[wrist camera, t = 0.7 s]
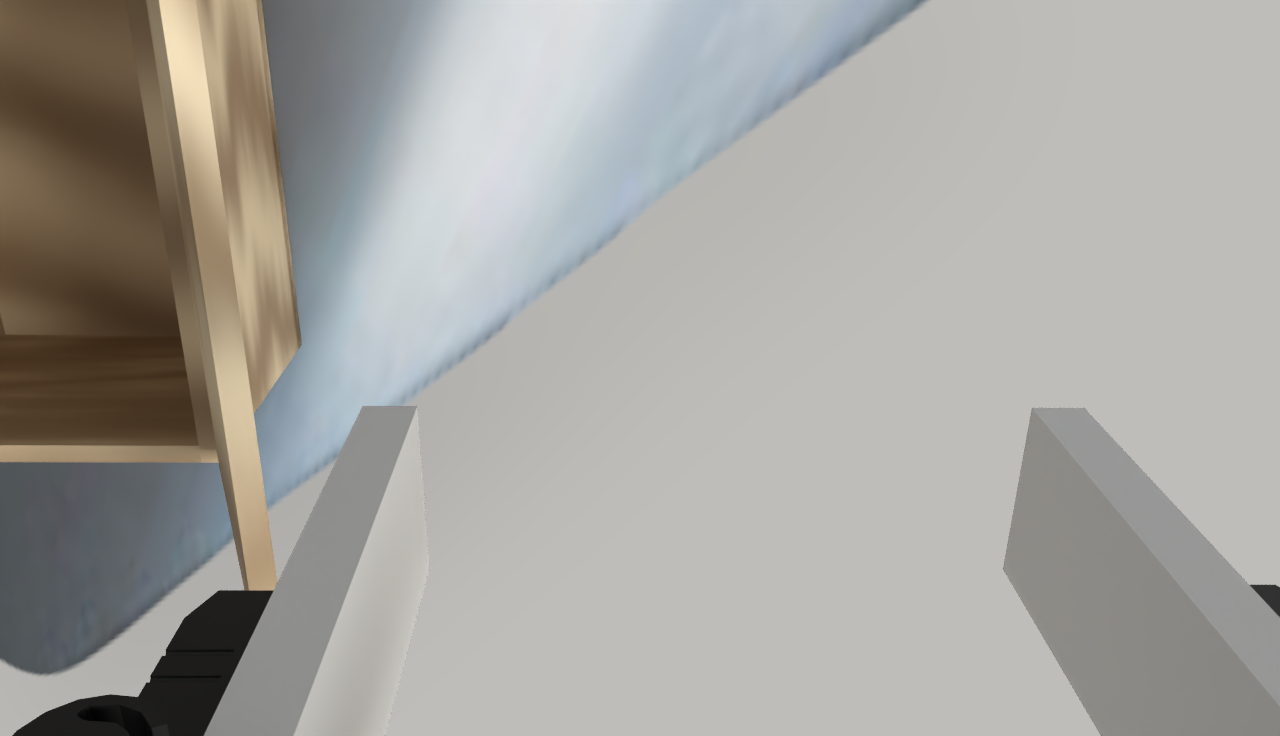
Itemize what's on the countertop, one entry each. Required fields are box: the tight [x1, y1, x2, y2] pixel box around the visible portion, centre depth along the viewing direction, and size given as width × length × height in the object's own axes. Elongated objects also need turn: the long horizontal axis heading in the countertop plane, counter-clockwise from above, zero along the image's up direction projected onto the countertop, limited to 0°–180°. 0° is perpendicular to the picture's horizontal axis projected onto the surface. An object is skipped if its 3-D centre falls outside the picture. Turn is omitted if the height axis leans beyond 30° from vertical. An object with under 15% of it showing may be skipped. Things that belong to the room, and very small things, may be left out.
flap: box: [146, 0, 277, 590], centre depth 26 cm, size 17×11×1 cm
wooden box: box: [0, 0, 302, 462], centre depth 35 cm, size 18×12×10 cm, turn 179°
